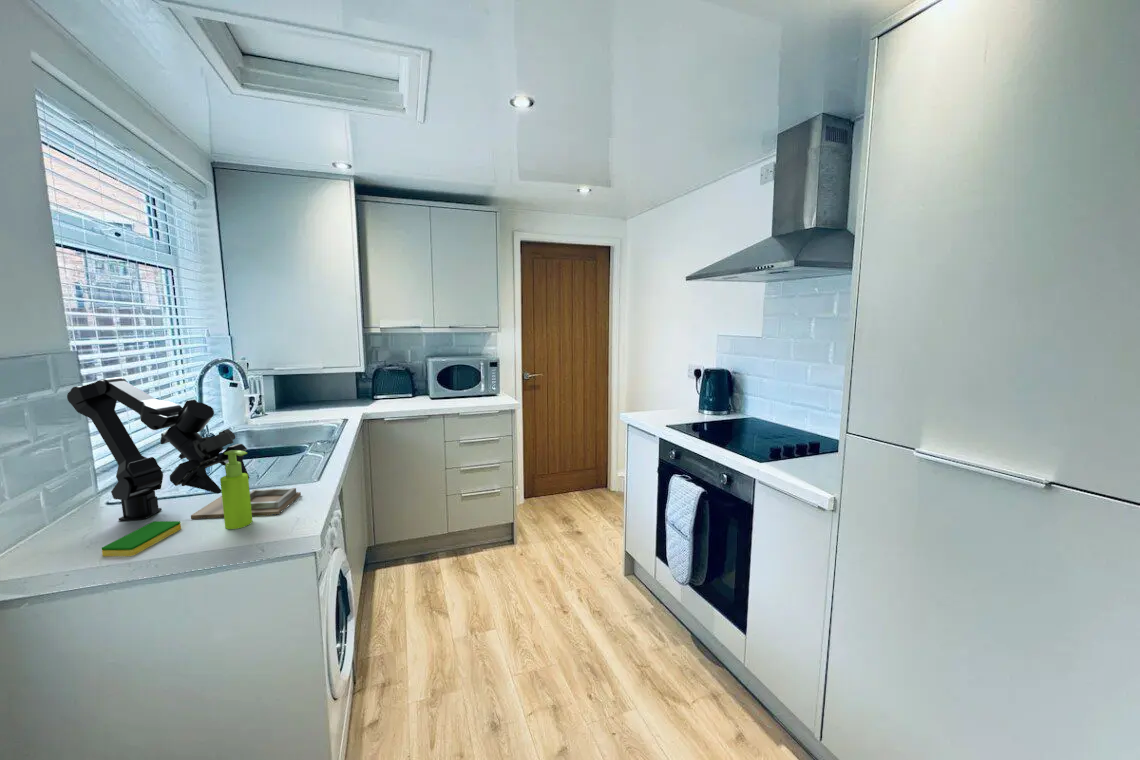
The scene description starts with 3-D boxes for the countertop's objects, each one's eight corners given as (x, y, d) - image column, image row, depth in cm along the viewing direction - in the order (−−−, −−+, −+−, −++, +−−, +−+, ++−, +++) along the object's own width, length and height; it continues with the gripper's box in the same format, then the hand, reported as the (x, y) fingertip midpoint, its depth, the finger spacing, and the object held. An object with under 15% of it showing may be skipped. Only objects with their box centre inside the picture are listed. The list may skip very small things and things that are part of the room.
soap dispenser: (241, 530, 118) (234, 455, 115) (219, 528, 119) (211, 453, 116) (261, 520, 123) (254, 448, 121) (239, 518, 125) (232, 447, 122)
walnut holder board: (191, 518, 124) (189, 509, 124) (222, 498, 138) (221, 490, 138) (278, 514, 127) (277, 505, 127) (300, 495, 141) (300, 487, 140)
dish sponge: (101, 557, 105) (99, 548, 105) (154, 529, 119) (153, 520, 119) (132, 557, 105) (131, 547, 105) (182, 529, 119) (181, 520, 119)
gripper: (174, 431, 109) (223, 477, 109) (237, 414, 127) (278, 454, 128) (148, 463, 110) (196, 508, 111) (213, 441, 129) (254, 480, 129)
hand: (234, 485), depth 120 cm, fingers open, 9 cm apart
